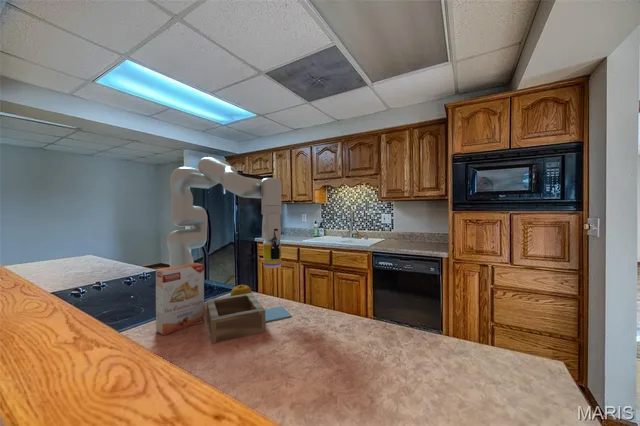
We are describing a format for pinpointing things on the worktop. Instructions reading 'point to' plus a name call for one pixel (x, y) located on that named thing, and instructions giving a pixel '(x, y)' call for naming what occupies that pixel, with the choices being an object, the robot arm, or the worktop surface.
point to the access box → (235, 317)
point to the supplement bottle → (267, 256)
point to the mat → (276, 314)
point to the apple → (240, 290)
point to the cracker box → (179, 297)
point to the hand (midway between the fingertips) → (272, 257)
